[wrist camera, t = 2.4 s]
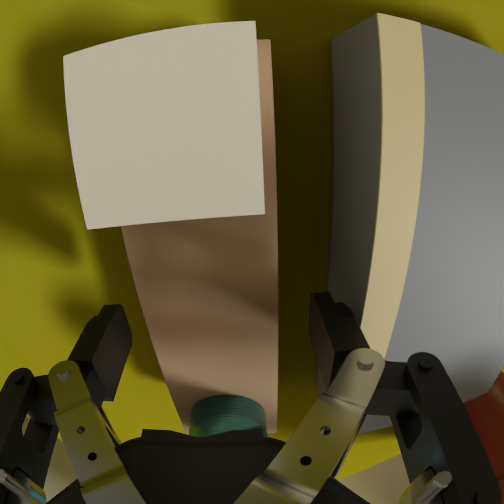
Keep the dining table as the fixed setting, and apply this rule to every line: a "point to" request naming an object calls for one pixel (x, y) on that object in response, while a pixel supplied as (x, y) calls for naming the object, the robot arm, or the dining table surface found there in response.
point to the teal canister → (226, 415)
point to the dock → (419, 197)
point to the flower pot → (491, 425)
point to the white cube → (167, 125)
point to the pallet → (216, 291)
